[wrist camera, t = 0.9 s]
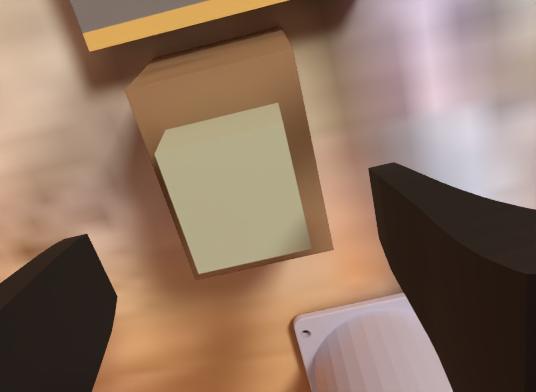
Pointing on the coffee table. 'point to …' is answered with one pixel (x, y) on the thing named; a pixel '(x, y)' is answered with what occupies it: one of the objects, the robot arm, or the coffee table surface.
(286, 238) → the block
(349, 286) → the coffee table surface
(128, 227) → the coffee table surface
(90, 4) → the dock
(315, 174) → the brown block
